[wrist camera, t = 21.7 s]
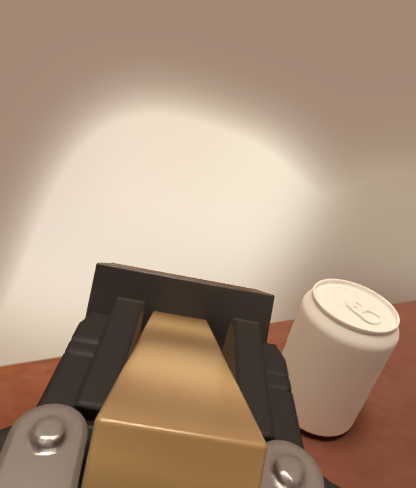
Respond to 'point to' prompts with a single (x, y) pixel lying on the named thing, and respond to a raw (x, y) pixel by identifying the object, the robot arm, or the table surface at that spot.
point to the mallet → (176, 387)
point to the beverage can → (338, 353)
